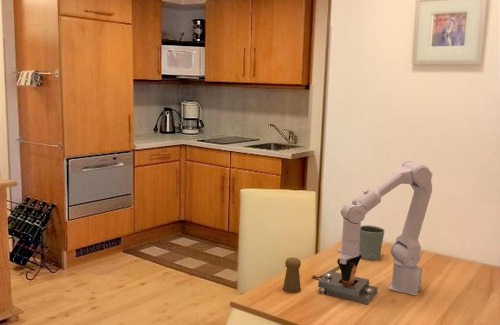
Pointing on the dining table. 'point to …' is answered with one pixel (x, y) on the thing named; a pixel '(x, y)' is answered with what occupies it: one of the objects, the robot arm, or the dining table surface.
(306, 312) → the dining table surface
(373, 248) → the green cup
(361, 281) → the link upper
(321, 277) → the tomahawk
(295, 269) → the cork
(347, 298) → the link lower
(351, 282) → the pin
